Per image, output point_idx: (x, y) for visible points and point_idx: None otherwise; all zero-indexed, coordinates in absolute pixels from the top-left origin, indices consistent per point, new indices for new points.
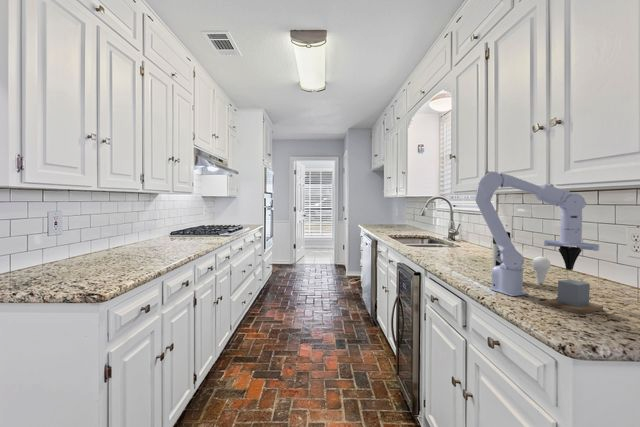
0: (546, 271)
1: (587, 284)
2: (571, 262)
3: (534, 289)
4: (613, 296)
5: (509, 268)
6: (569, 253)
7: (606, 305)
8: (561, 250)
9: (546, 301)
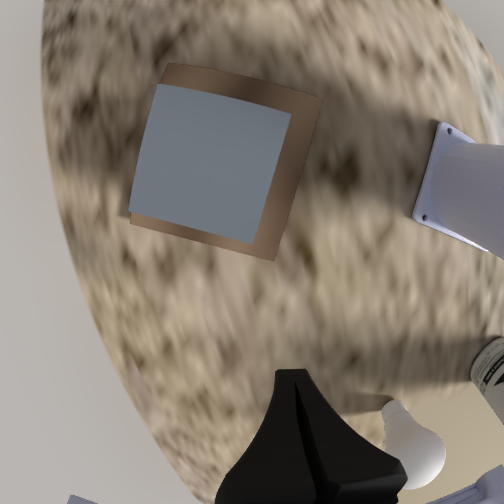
0: (389, 441)
1: (134, 187)
2: (275, 406)
3: (403, 321)
4: (186, 421)
5: None
6: (297, 463)
7: (152, 300)
8: (380, 469)
9: (314, 96)
